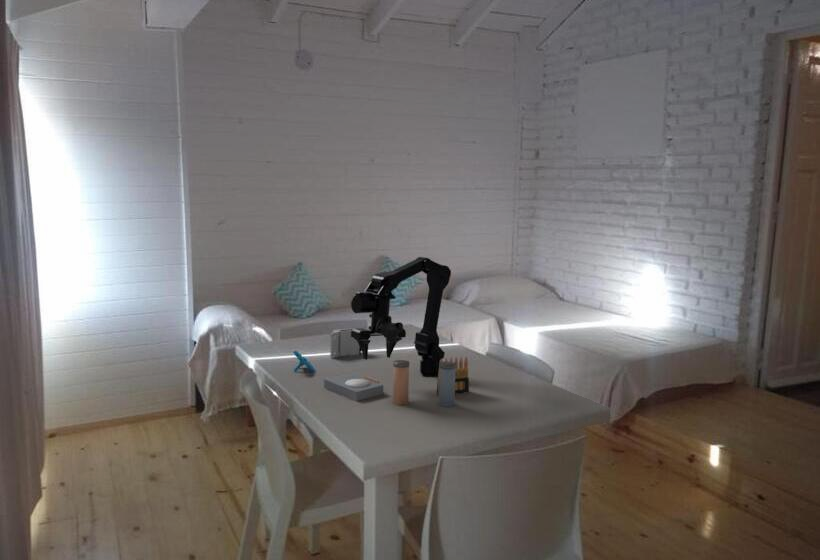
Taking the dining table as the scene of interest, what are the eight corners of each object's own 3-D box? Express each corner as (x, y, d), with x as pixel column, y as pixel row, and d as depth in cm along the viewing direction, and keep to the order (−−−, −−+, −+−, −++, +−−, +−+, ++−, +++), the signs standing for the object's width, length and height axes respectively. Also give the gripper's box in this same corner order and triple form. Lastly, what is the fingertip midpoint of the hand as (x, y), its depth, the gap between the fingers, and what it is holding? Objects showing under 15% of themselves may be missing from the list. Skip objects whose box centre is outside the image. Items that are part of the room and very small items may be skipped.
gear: (315, 370, 236) (295, 350, 236) (303, 382, 236) (283, 363, 235) (316, 366, 247) (296, 347, 247) (305, 377, 247) (285, 359, 246)
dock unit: (352, 381, 230) (352, 371, 229) (384, 393, 217) (384, 382, 216) (324, 387, 222) (324, 377, 222) (356, 401, 209) (356, 390, 209)
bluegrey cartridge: (453, 401, 210) (454, 361, 208) (456, 407, 205) (457, 365, 203) (437, 402, 209) (438, 361, 207) (440, 407, 204) (440, 366, 203)
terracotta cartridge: (407, 399, 211) (408, 359, 209) (409, 405, 206) (410, 364, 204) (392, 400, 211) (392, 360, 209) (393, 405, 206) (394, 364, 204)
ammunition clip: (438, 395, 216) (439, 359, 214) (436, 393, 218) (437, 358, 216) (468, 392, 220) (469, 357, 218) (466, 390, 221) (467, 355, 219)
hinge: (331, 359, 258) (331, 333, 257) (325, 356, 263) (324, 331, 261) (362, 354, 266) (362, 329, 264) (356, 351, 270) (356, 327, 269)
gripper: (370, 317, 209) (367, 366, 211) (417, 315, 221) (413, 361, 222) (351, 311, 218) (348, 358, 219) (397, 310, 229) (394, 354, 231)
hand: (377, 358), depth 223 cm, fingers open, 9 cm apart
